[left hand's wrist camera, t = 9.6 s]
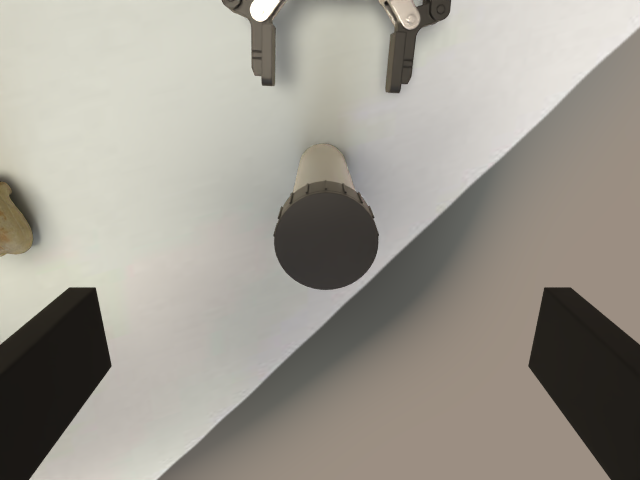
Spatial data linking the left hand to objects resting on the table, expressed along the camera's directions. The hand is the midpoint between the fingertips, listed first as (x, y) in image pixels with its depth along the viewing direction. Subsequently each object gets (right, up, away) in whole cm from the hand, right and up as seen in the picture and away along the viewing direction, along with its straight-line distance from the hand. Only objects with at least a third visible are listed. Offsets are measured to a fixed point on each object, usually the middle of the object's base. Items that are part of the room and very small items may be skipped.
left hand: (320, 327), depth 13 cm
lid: (0, +3, +8) cm, 8 cm away
